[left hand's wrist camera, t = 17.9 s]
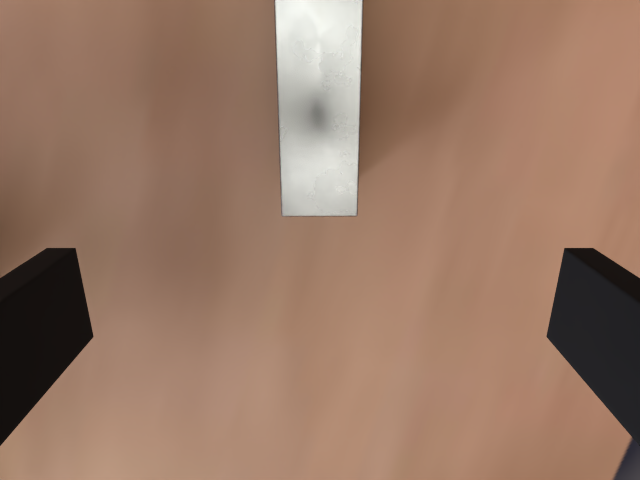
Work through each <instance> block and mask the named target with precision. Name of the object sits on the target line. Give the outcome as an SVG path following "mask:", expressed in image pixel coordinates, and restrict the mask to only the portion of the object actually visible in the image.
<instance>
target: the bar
mask: <svg viewBox="0 0 640 480" xmlns="http://www.w3.org/2000/svg"><path fill="white" fill-rule="evenodd" d="M274 9H275V38H276V67H277V96H278V125H279V154H280V183H281V212H282V216H357V215H358V178H359V141H360V104H361V66H362V29H363V0H274Z"/></svg>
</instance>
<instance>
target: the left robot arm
mask: <svg viewBox="0 0 640 480" xmlns="http://www.w3.org/2000/svg"><path fill="white" fill-rule="evenodd" d="M92 338H93V332H92V327H91V322H90V317H89V312H88V307H87V303H86V298H85V293H84V288H83V283H82V278H81V273H80V268H79V263H78V258H77V253H76V248H46V249H45V250H43V251H42V252H40V253H39V254H37V255H36V256H34V257H32V258H31V259H29V260H28V261H26V262H25V263H23V264H22V265H20V266H19V267H17V268H15V269H14V270H12V271H11V272H9V273H8V274H6V275H5V276H3V277H2V278H0V446H1V444H2V443H3V442H4V441H5V440H6V439H7V437H8V436H9V435H10V434H11V433H12V431H13V430H14V429H15V428H16V427H17V426H18V424H19V423H20V422H21V421H22V420H23V419H24V417H25V416H26V415H27V414H28V413H29V412H30V410H31V409H32V408H33V407H34V406H35V405H36V403H37V402H38V401H39V400H40V399H41V398H42V396H43V395H44V394H45V393H46V392H47V391H48V389H49V388H50V387H51V386H52V385H53V383H54V382H55V381H56V380H57V379H58V378H59V376H60V375H61V374H62V373H63V372H64V371H65V369H66V368H67V367H68V366H69V365H70V364H71V362H72V361H73V360H74V359H75V358H76V357H77V355H78V354H79V353H80V352H81V351H82V350H83V348H84V347H85V346H86V345H87V344H88V343H89V341H90V340H91V339H92ZM547 338H548V339H549V340H550V341H551V343H552V344H553V345H554V346H555V347H556V348H557V350H558V351H559V352H560V353H561V354H562V355H563V357H564V358H565V359H566V360H567V361H568V362H569V364H570V365H571V366H572V367H573V368H574V369H575V371H576V372H577V373H578V374H579V375H580V376H581V378H582V379H583V380H584V381H585V382H586V383H587V385H588V386H589V387H590V388H591V389H592V391H593V392H594V393H595V394H596V395H597V396H598V398H599V399H600V400H601V401H602V402H603V403H604V405H605V406H606V407H607V408H608V409H609V410H610V412H611V413H612V414H613V415H614V416H615V417H616V419H617V420H618V421H619V422H620V423H621V424H622V426H623V427H624V428H625V429H626V430H627V431H628V433H629V434H630V435H631V436H632V437H633V439H634V440H635V441H636V442H637V443H638V444H639V446H640V278H638V277H637V276H635V275H634V274H632V273H631V272H629V271H628V270H626V269H625V268H623V267H621V266H620V265H618V264H617V263H615V262H614V261H612V260H611V259H609V258H608V257H606V256H604V255H603V254H601V253H600V252H598V251H597V250H595V249H594V248H564V253H563V258H562V263H561V268H560V273H559V278H558V283H557V288H556V293H555V298H554V303H553V307H552V312H551V317H550V322H549V327H548V332H547Z"/></svg>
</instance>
